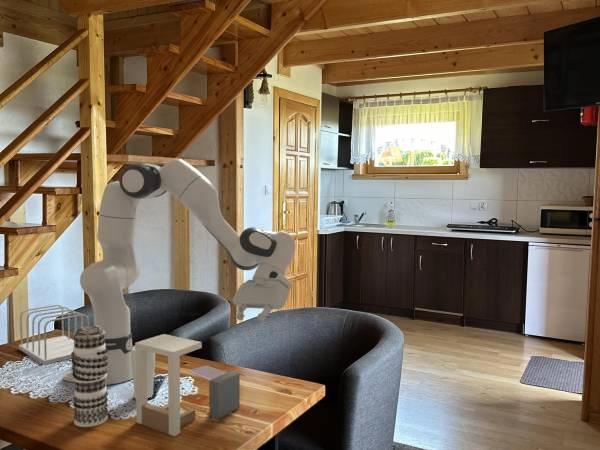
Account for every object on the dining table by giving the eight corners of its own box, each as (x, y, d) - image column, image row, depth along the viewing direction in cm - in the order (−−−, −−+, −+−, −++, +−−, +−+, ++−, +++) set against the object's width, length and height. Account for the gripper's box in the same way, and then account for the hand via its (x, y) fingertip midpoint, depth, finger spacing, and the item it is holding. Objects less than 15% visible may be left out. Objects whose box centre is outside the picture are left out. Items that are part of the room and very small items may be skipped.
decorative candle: (102, 409, 148) (101, 321, 146) (114, 421, 141) (112, 328, 139) (68, 418, 143) (66, 326, 141) (78, 430, 135) (76, 334, 134)
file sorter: (18, 349, 202) (16, 309, 201) (64, 340, 214) (63, 302, 213) (44, 365, 184) (42, 321, 183) (92, 354, 197) (91, 312, 196)
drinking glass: (142, 403, 152) (142, 352, 151) (126, 398, 156) (126, 348, 155) (160, 396, 158) (159, 346, 157) (144, 391, 162) (144, 342, 161)
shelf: (168, 407, 150) (168, 332, 149) (206, 419, 143) (205, 340, 141) (136, 422, 140) (135, 342, 139) (174, 436, 133) (173, 352, 131)
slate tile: (230, 405, 152) (230, 370, 152) (239, 407, 151) (239, 373, 150) (209, 416, 145) (209, 380, 144) (218, 419, 143) (218, 383, 142)
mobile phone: (206, 364, 185) (234, 375, 175) (206, 366, 185) (234, 377, 175) (188, 369, 179) (216, 381, 169) (188, 372, 179) (216, 384, 169)
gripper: (239, 274, 168) (220, 313, 162) (284, 273, 154) (265, 315, 148) (251, 285, 172) (234, 323, 165) (297, 284, 157) (279, 326, 151)
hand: (249, 319), depth 156 cm, fingers open, 8 cm apart
